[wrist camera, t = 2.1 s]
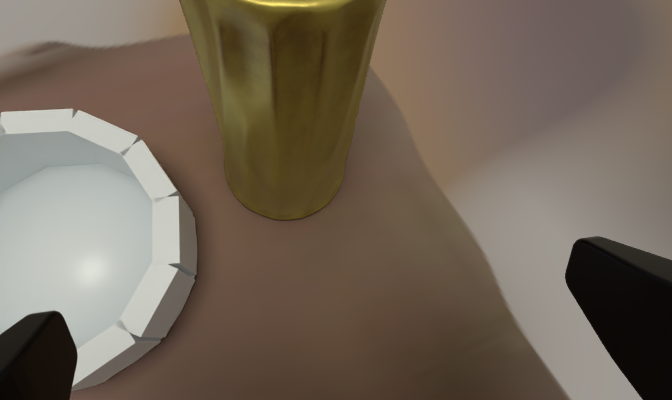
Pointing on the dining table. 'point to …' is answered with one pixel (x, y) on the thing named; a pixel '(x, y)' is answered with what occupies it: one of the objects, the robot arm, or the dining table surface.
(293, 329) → the dining table surface
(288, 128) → the vase
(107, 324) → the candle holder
